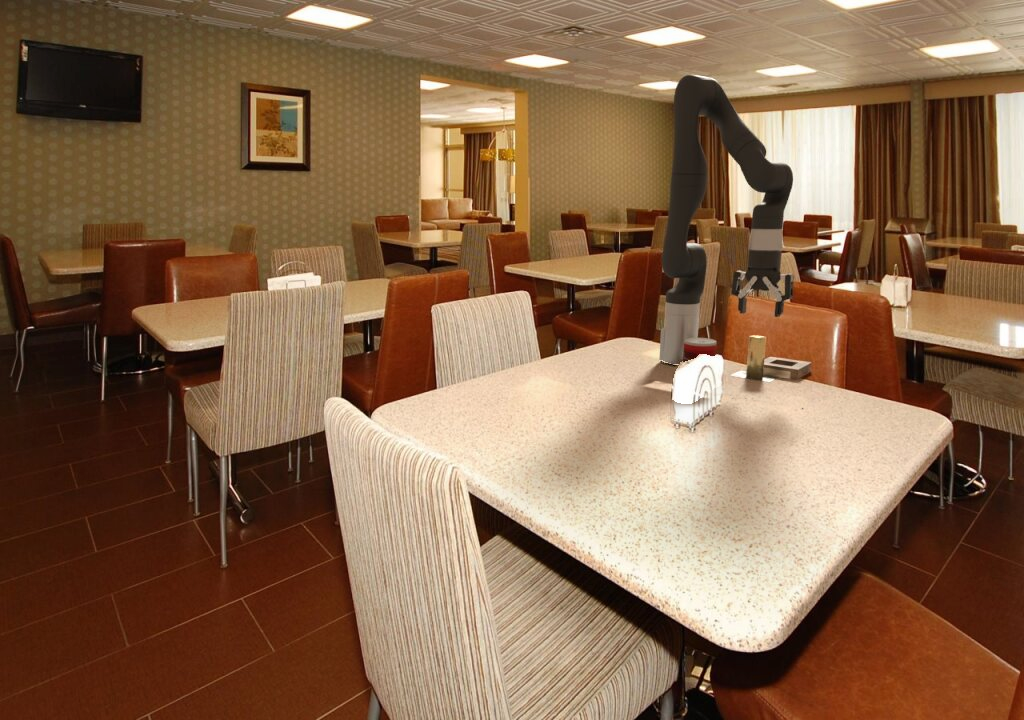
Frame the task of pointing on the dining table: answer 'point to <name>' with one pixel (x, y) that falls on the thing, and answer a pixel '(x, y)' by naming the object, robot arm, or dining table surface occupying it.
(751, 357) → the cylinder
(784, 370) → the grey square socket block
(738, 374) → the white flat slab
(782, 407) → the dining table surface
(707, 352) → the canned food
